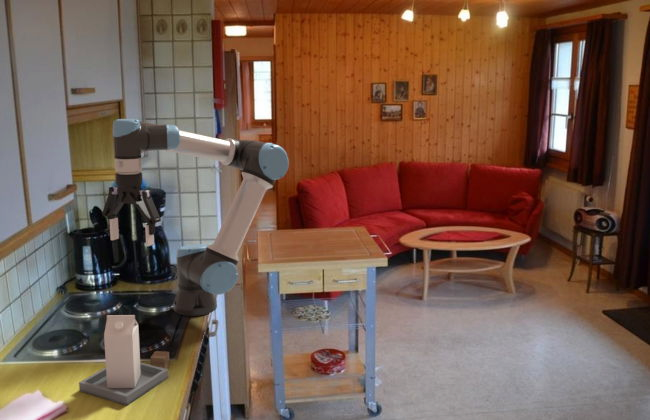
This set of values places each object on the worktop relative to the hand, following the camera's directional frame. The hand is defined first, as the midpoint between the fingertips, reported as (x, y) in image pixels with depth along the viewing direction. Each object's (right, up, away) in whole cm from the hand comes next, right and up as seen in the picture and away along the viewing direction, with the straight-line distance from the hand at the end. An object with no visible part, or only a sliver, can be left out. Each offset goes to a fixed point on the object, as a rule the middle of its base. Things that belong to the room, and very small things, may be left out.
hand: (132, 242), depth 182 cm
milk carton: (+4, -37, -20) cm, 42 cm away
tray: (+4, -37, -20) cm, 42 cm away
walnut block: (+11, -35, -10) cm, 38 cm away
